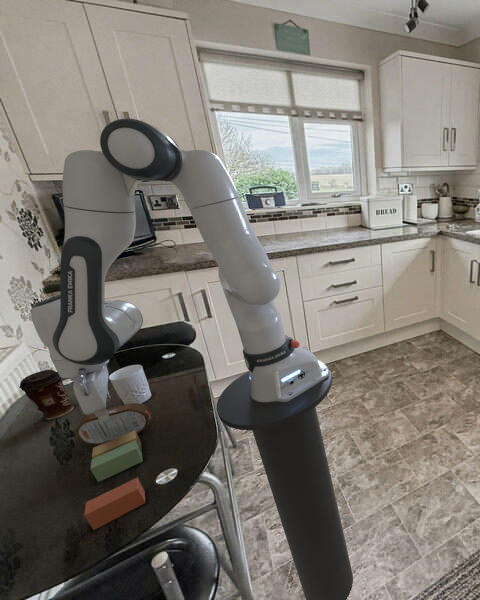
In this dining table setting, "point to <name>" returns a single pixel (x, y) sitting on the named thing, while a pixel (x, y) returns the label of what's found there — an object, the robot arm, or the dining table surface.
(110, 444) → the beech block
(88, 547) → the dining table surface
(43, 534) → the dining table surface
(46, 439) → the dining table surface
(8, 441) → the dining table surface
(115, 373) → the white cup
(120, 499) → the terracotta block
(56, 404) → the coffee cup
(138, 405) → the tin
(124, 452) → the sage block
